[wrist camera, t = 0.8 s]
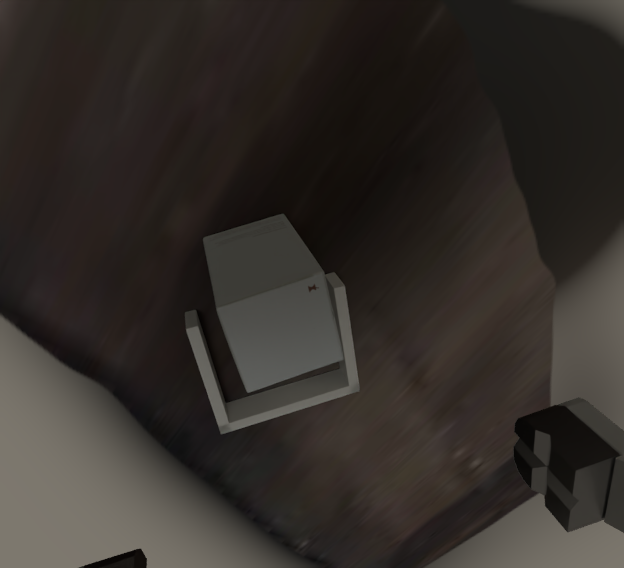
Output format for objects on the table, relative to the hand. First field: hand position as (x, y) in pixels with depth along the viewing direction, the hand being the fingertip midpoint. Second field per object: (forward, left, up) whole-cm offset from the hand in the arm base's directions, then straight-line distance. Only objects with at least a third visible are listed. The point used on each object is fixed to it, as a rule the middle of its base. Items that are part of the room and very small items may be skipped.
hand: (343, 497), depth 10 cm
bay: (+18, +2, -32) cm, 37 cm away
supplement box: (+9, +2, -33) cm, 34 cm away
